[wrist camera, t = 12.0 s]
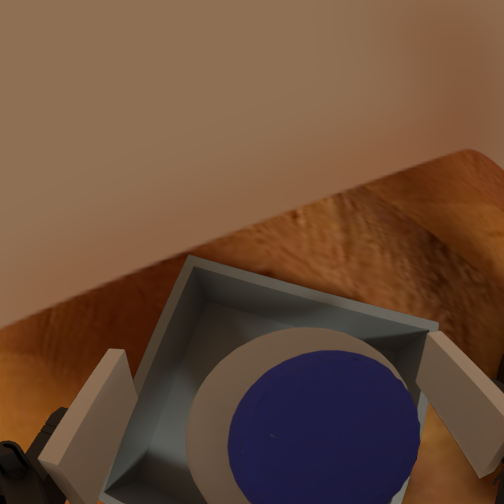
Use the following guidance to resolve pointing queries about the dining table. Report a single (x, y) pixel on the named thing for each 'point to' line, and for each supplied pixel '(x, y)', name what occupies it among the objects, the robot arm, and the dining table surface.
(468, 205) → the dining table surface
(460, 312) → the dining table surface
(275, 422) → the bottle
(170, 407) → the tray
